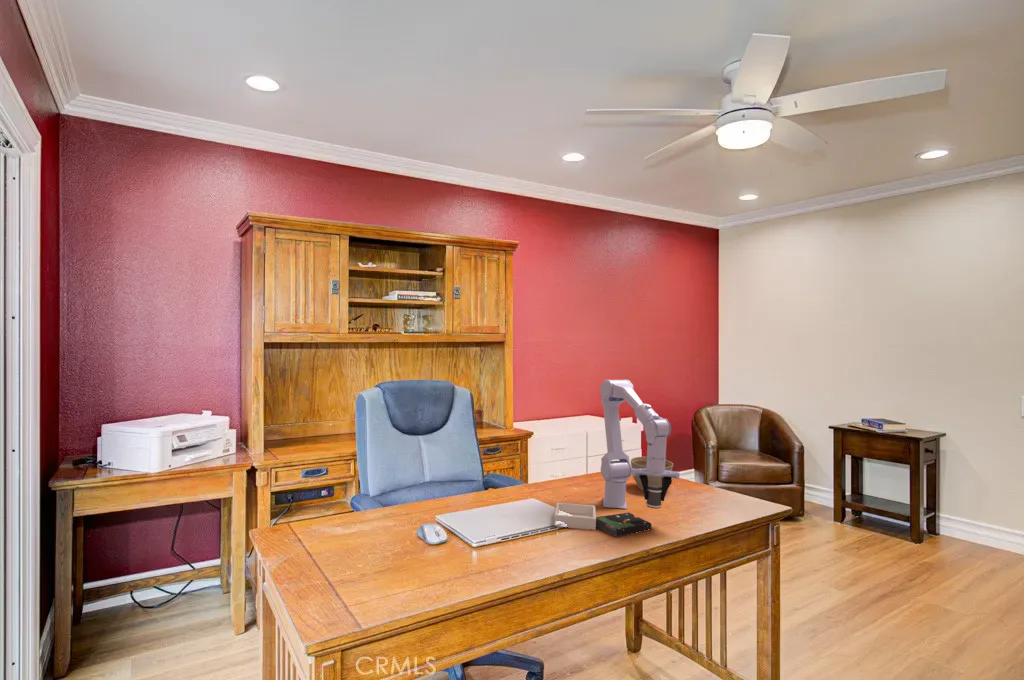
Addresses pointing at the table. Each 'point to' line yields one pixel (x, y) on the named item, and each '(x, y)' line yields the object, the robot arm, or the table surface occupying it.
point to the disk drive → (622, 524)
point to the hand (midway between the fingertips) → (654, 499)
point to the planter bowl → (652, 481)
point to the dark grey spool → (654, 497)
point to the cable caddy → (577, 515)
